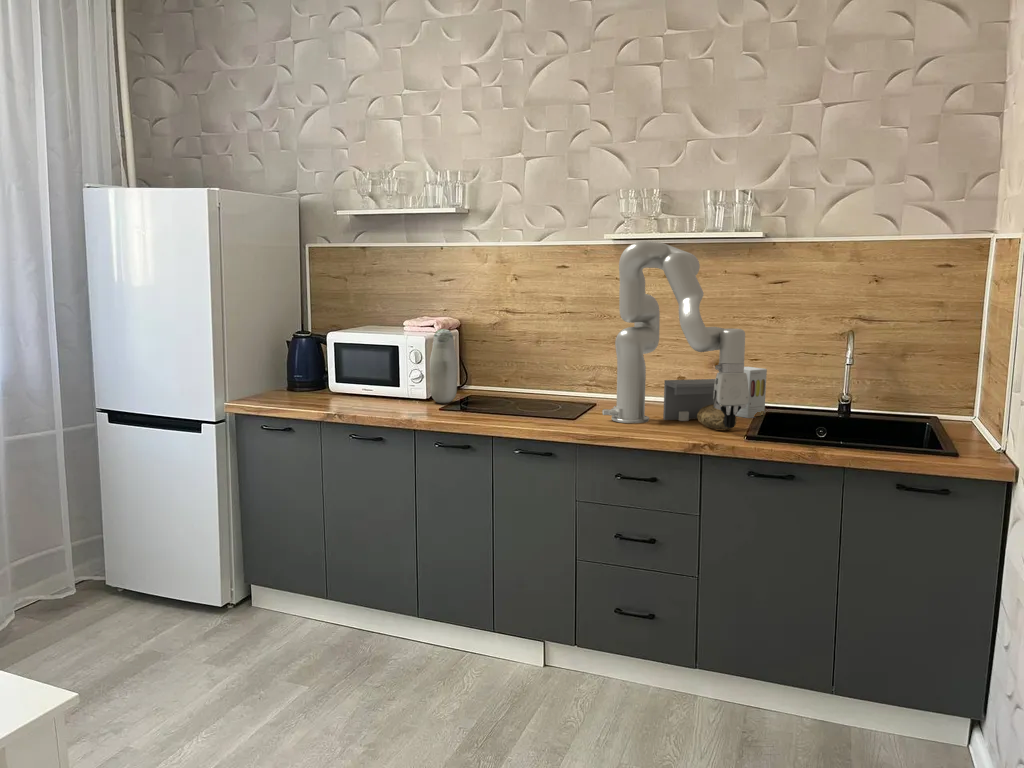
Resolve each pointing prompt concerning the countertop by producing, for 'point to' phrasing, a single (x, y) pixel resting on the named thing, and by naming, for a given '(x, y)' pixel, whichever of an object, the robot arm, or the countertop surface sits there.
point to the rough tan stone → (712, 418)
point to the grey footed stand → (686, 398)
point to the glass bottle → (443, 367)
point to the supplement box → (754, 392)
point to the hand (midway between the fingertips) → (729, 426)
